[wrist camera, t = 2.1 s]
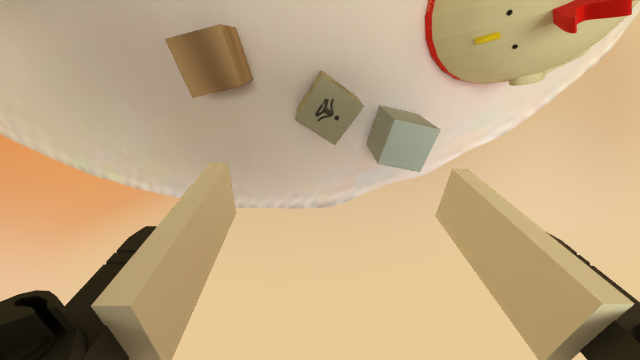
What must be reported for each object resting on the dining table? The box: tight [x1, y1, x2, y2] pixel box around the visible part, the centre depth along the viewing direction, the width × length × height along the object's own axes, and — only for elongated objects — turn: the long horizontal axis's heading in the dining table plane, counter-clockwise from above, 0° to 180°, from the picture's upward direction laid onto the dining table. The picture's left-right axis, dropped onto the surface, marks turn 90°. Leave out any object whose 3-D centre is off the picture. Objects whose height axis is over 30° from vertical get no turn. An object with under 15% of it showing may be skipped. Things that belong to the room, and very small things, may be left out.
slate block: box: [367, 106, 440, 172], centre depth 28 cm, size 5×5×6 cm
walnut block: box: [165, 25, 253, 98], centre depth 24 cm, size 5×5×5 cm
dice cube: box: [295, 71, 364, 145], centre depth 26 cm, size 5×5×5 cm
